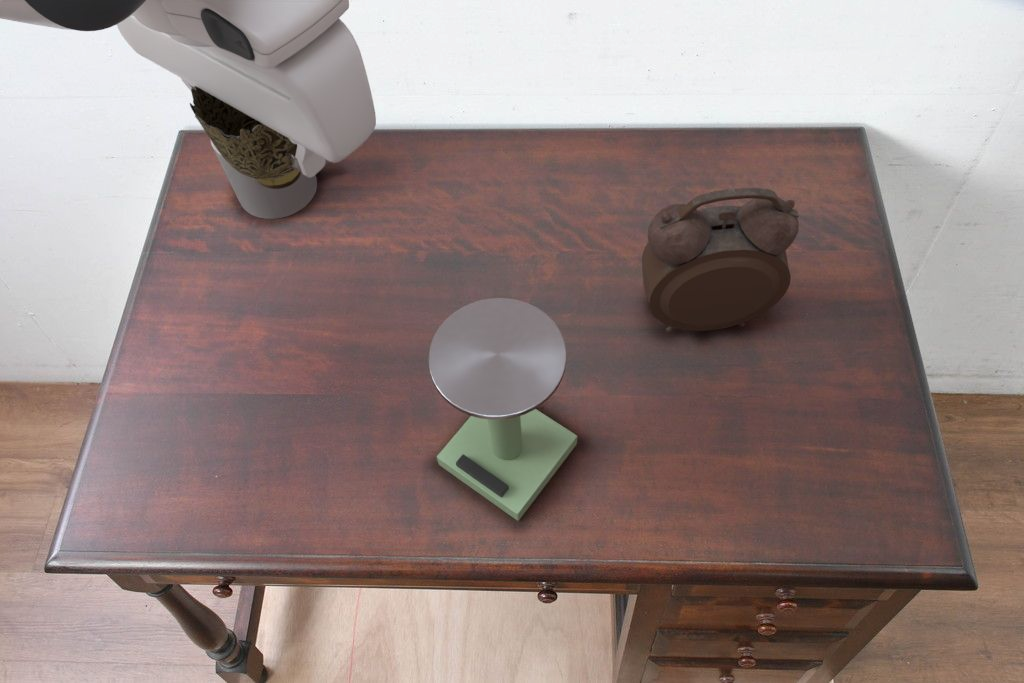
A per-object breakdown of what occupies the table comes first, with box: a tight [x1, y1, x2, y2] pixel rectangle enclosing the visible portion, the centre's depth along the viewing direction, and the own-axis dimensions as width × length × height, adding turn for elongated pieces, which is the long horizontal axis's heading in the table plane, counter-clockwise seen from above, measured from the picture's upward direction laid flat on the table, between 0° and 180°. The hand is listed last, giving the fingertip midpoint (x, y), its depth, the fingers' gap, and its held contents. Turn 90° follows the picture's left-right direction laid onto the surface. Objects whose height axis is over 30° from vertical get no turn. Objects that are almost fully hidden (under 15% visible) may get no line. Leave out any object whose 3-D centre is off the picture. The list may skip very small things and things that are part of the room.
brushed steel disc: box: [428, 297, 567, 420], centre depth 64 cm, size 11×11×2 cm
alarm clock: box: [641, 187, 800, 333], centre depth 80 cm, size 15×7×20 cm, turn 94°
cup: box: [189, 86, 301, 189], centre depth 55 cm, size 8×7×8 cm
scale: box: [436, 408, 578, 522], centre depth 73 cm, size 10×10×18 cm
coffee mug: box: [209, 138, 331, 220], centre depth 96 cm, size 13×10×10 cm
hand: (269, 144), depth 56 cm, fingers closed on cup, 7 cm apart
